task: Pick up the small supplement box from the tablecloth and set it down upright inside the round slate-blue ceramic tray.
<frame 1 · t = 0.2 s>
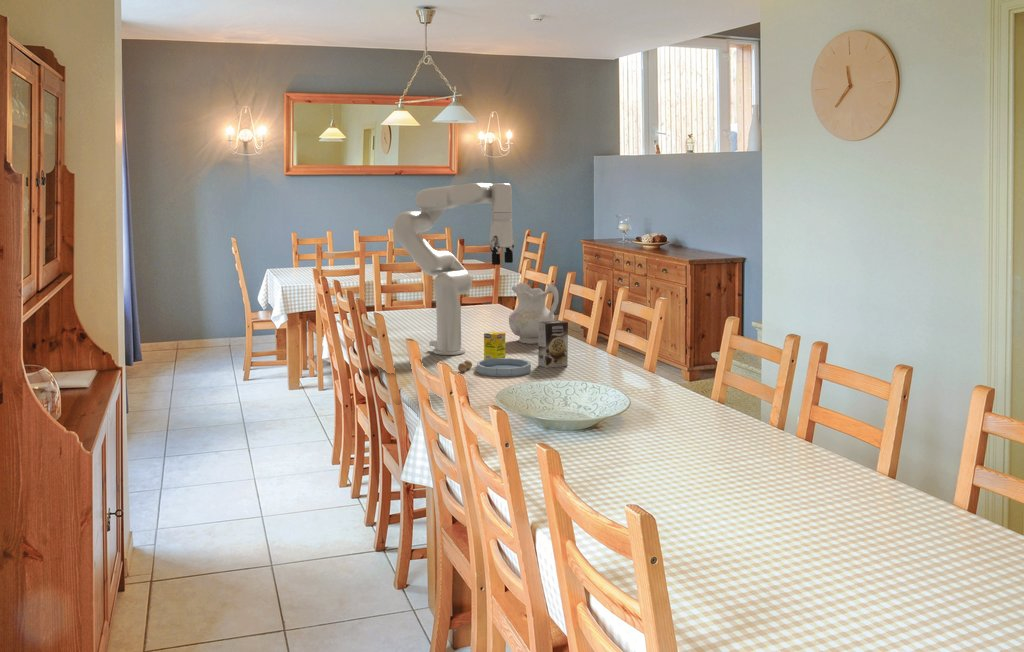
hand: (502, 263, 337), 36 cm above the table, fingers open, 9 cm apart
tray: (503, 371, 319), on the table
ceramic pitcher: (534, 342, 379), on the table
bead b: (462, 371, 318), on the table
bead a: (467, 369, 323), on the table
supplement box: (494, 362, 336), on the table
coffee box: (553, 366, 329), on the table
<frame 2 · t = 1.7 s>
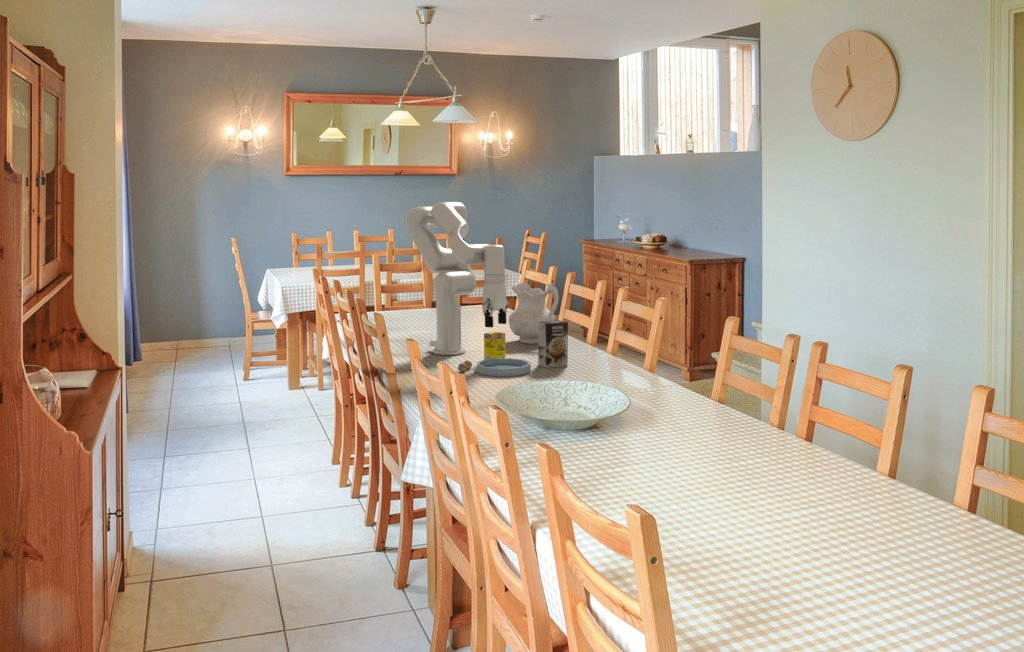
hand: (495, 325, 333), 14 cm above the table, fingers open, 9 cm apart
nothing on the table moved.
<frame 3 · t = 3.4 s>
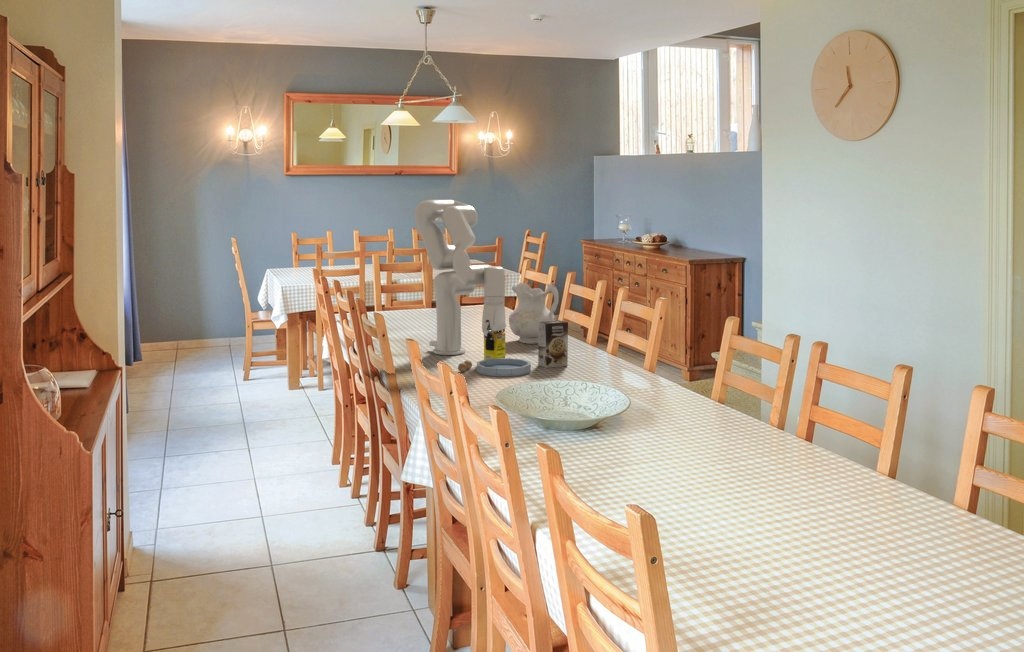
hand: (494, 348, 335), 5 cm above the table, fingers closed on supplement box, 6 cm apart
supplement box: (494, 362, 336), on the table, touching gripper
everything else where it was.
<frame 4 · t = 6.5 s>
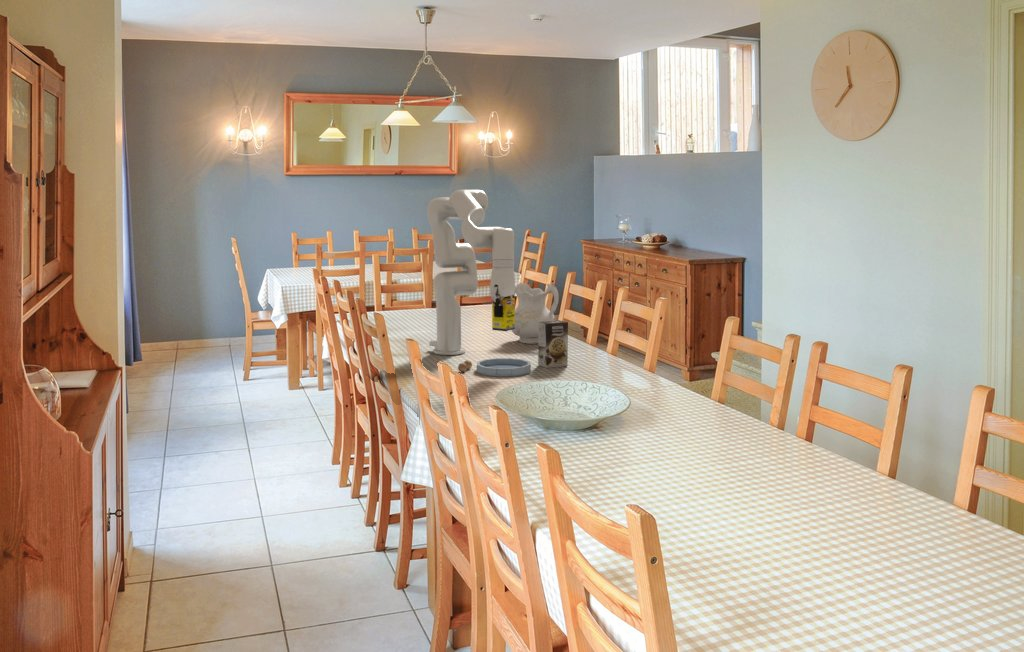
hand: (503, 315, 316), 20 cm above the table, fingers closed on supplement box, 6 cm apart
supplement box: (503, 330, 317), point 15 cm above the table, touching gripper
everything else where it was.
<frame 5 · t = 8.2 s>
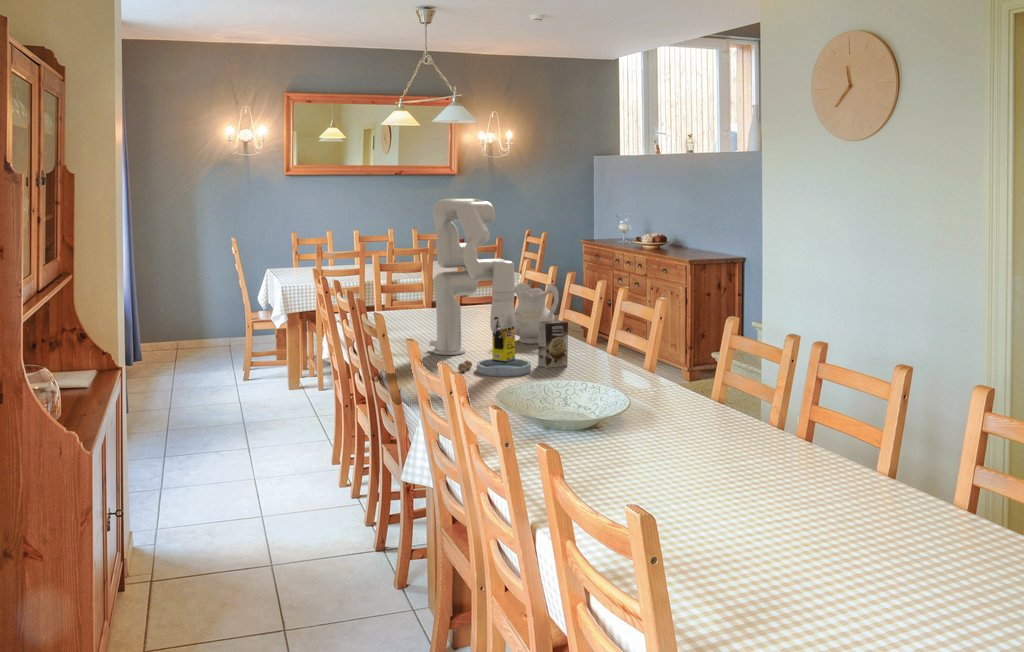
hand: (503, 346, 318), 9 cm above the table, fingers closed on supplement box, 6 cm apart
supplement box: (503, 361, 319), point 3 cm above the table, touching gripper
everything else where it was.
when the fingers open (7 cm above the table, at t = 9.6 s): supplement box stays where it is, resting on tray.
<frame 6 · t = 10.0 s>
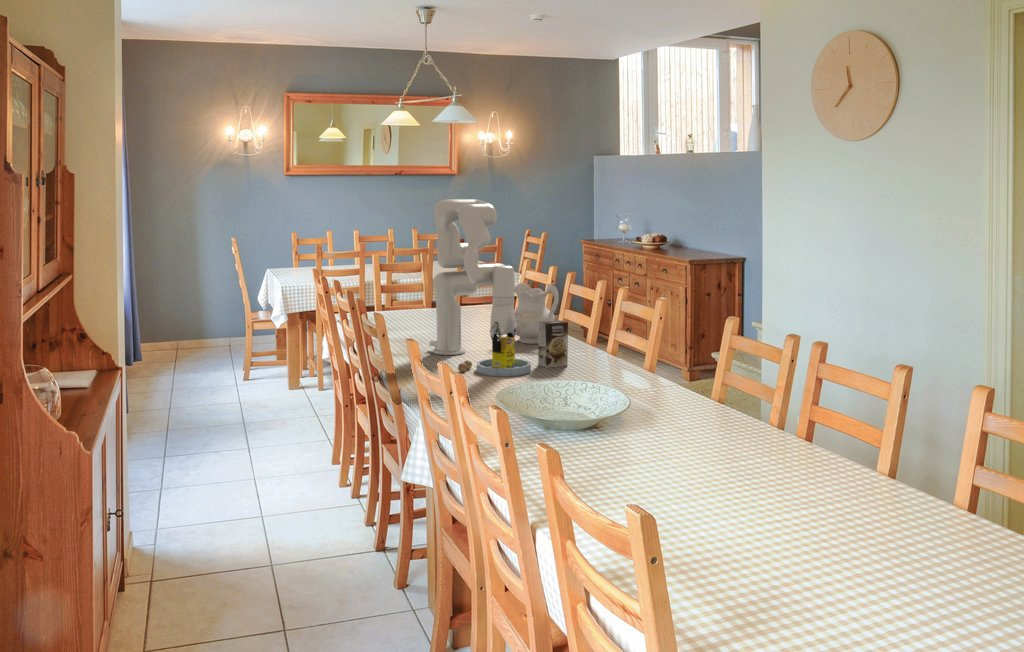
hand: (503, 349, 318), 8 cm above the table, fingers open, 9 cm apart
supplement box: (503, 369, 320), point 1 cm above the table, touching tray
everything else where it was.
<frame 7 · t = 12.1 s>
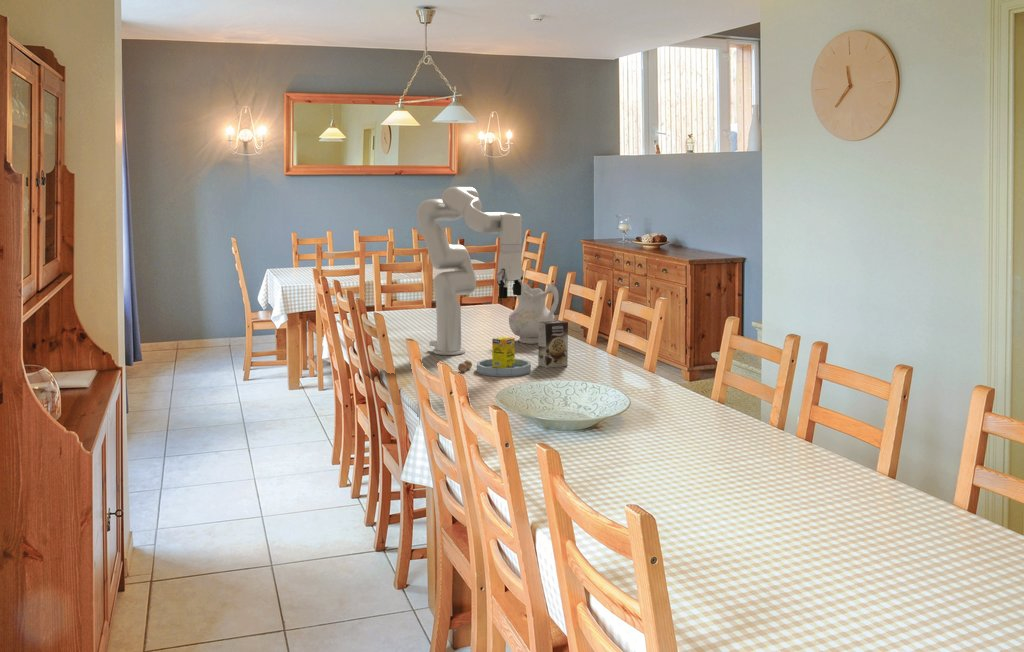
hand: (510, 296, 325), 25 cm above the table, fingers open, 9 cm apart
nothing on the table moved.
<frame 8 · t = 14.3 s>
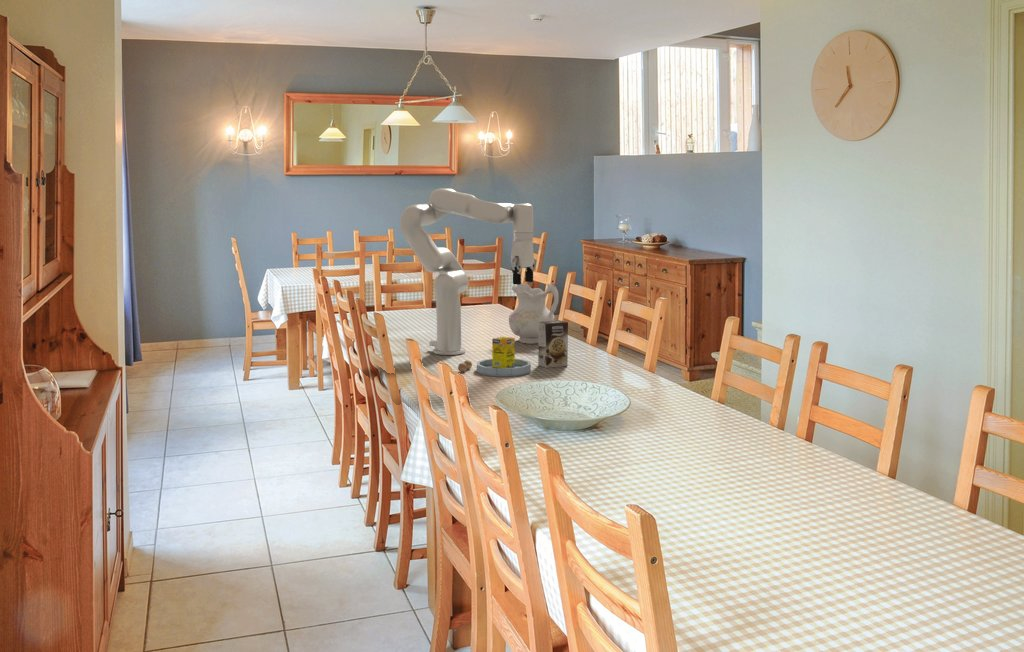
hand: (523, 283, 340), 28 cm above the table, fingers open, 9 cm apart
nothing on the table moved.
at the end: supplement box 0.2 cm from the tray (horizontally); supplement box tilted 0°; the gripper is holding nothing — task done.
